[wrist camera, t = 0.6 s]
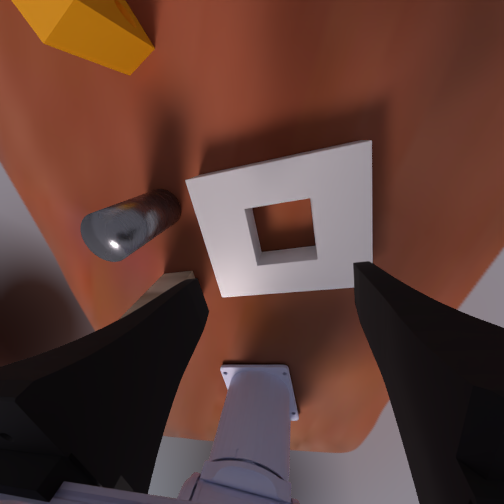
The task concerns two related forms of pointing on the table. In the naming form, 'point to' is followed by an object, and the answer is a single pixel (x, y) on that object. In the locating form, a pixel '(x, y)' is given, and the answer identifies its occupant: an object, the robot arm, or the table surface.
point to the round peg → (129, 224)
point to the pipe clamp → (90, 30)
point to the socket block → (284, 190)
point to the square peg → (160, 288)
